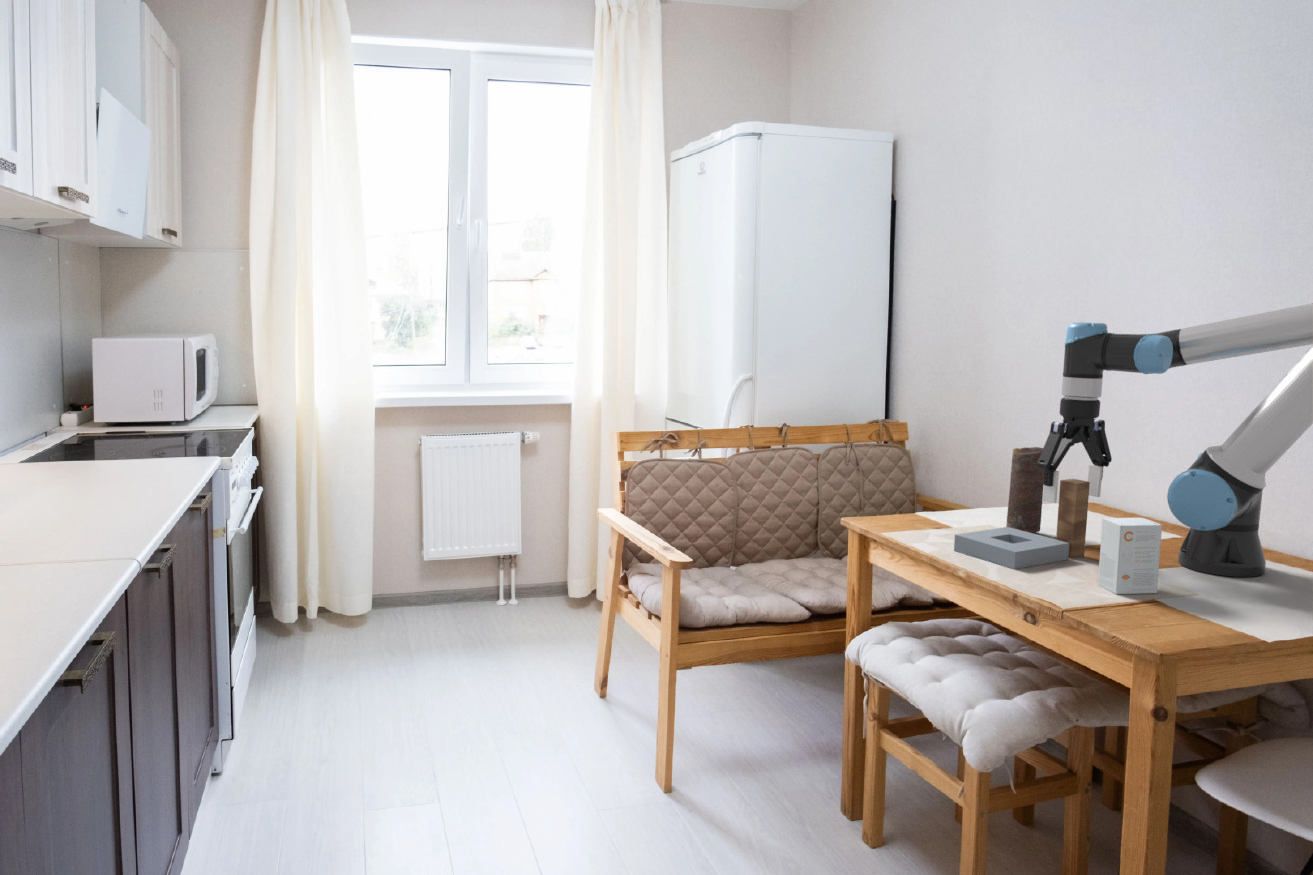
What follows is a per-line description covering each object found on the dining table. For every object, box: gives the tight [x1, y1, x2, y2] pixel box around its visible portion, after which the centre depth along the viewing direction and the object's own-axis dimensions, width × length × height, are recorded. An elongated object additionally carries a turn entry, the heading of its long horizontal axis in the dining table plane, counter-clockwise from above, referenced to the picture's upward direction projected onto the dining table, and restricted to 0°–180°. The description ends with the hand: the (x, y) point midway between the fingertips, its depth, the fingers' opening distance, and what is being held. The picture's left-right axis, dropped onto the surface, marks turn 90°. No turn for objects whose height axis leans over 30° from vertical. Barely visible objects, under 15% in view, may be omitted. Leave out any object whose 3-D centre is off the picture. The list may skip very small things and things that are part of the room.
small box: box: [1097, 517, 1163, 595], centre depth 174 cm, size 8×6×13 cm
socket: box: [953, 526, 1069, 570], centre depth 198 cm, size 16×16×4 cm
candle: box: [1005, 446, 1045, 534], centre depth 216 cm, size 8×7×20 cm
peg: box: [1055, 478, 1090, 560], centre depth 198 cm, size 4×4×16 cm
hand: (1071, 498), depth 197 cm, fingers open, 13 cm apart
